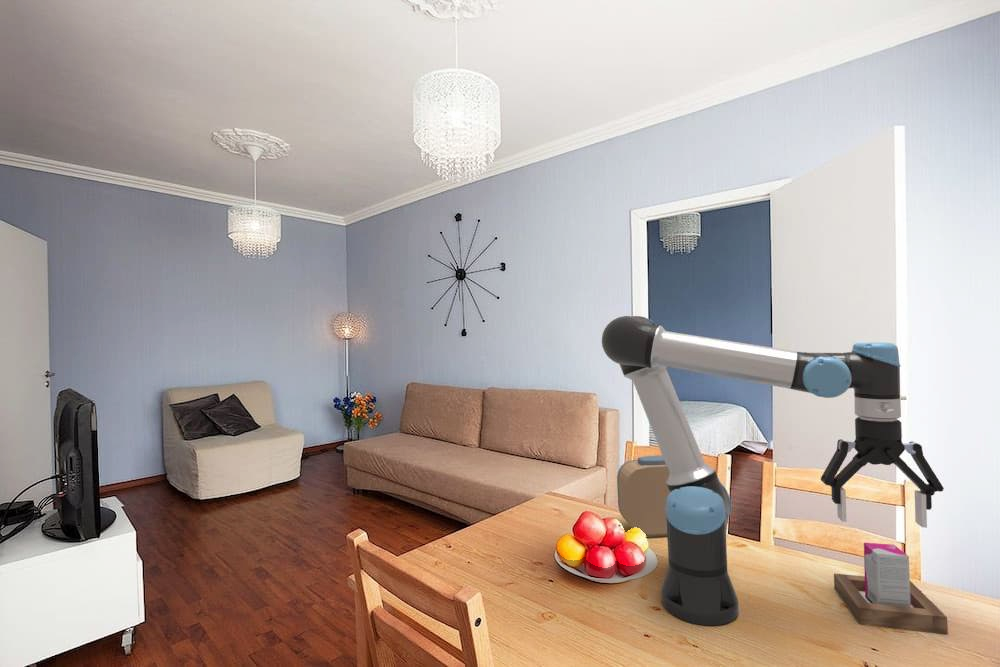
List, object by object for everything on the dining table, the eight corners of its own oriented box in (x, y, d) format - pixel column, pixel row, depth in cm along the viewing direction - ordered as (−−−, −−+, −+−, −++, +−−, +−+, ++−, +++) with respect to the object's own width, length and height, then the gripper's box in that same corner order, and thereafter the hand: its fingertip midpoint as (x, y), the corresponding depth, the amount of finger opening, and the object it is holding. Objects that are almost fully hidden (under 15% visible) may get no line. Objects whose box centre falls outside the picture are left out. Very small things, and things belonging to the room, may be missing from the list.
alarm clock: (685, 522, 149) (682, 451, 149) (699, 535, 139) (696, 459, 140) (618, 527, 148) (615, 455, 148) (628, 540, 138) (625, 463, 138)
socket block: (859, 624, 95) (858, 607, 95) (834, 587, 109) (833, 573, 109) (947, 634, 91) (947, 617, 91) (910, 595, 104) (909, 580, 105)
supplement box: (912, 614, 96) (909, 555, 96) (877, 611, 98) (875, 553, 98) (896, 598, 102) (894, 543, 102) (864, 596, 103) (861, 541, 103)
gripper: (813, 419, 100) (816, 523, 100) (964, 423, 93) (967, 535, 93) (802, 413, 108) (805, 510, 108) (942, 416, 100) (945, 520, 100)
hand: (880, 522), depth 100 cm, fingers open, 13 cm apart
